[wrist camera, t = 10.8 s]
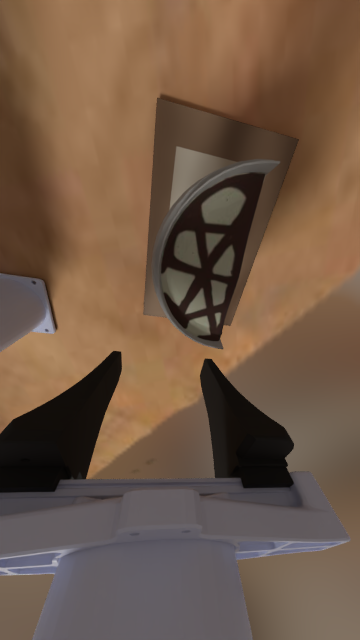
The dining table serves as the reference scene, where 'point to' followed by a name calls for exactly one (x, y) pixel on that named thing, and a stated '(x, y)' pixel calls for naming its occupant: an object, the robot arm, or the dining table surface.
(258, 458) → the robot arm
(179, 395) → the dining table surface
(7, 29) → the dining table surface
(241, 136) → the brown picture frame
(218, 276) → the food container
